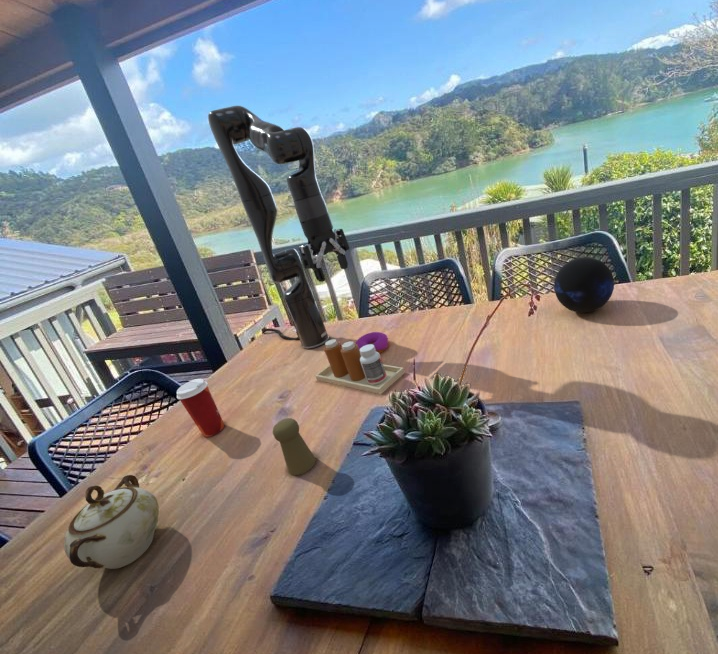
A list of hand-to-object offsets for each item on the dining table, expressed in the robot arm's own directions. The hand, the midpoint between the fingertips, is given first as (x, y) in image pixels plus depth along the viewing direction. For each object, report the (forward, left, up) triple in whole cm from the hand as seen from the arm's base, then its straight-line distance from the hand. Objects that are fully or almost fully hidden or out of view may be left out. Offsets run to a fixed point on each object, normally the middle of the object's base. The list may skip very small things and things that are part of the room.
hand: (333, 274), depth 116 cm
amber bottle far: (-3, -6, -28) cm, 28 cm away
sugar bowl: (0, -67, -28) cm, 73 cm away
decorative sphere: (+50, +41, -28) cm, 70 cm away
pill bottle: (+11, -6, -28) cm, 30 cm away
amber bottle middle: (+4, -6, -28) cm, 29 cm away
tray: (+4, -6, -28) cm, 29 cm away
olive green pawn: (+16, -37, -28) cm, 49 cm away
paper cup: (-21, -38, -28) cm, 52 cm away
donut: (-3, +8, -28) cm, 29 cm away
